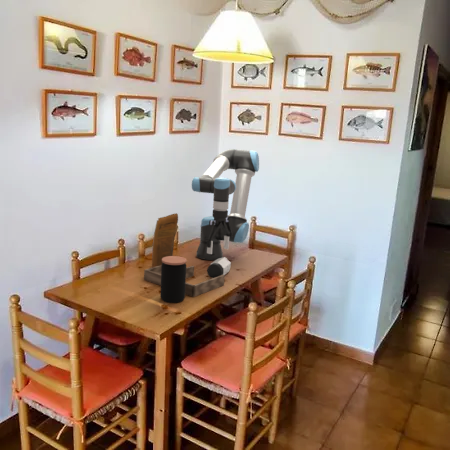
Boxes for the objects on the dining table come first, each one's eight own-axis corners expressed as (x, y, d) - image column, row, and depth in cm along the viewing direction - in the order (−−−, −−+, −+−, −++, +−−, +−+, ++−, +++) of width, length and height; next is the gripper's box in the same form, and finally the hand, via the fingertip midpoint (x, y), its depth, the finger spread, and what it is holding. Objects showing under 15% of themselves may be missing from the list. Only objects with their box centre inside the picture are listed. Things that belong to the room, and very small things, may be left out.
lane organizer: (175, 270, 242) (176, 260, 241) (224, 285, 224) (224, 275, 223) (143, 279, 224) (144, 269, 223) (193, 297, 206) (194, 286, 205)
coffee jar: (189, 299, 203) (191, 260, 199) (171, 305, 195) (173, 264, 191) (173, 292, 210) (175, 254, 206) (155, 298, 202) (156, 258, 198)
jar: (229, 274, 243) (220, 282, 232) (215, 270, 245) (206, 277, 235) (232, 258, 240) (222, 266, 229) (217, 254, 243) (208, 261, 232)
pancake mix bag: (180, 263, 253) (182, 213, 247) (155, 271, 238) (157, 218, 232) (171, 261, 257) (173, 211, 251) (146, 268, 242) (147, 215, 236)
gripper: (229, 205, 240) (226, 245, 245) (198, 211, 220) (196, 254, 225) (241, 207, 236) (238, 248, 240) (210, 213, 216) (208, 257, 221)
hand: (217, 251), depth 233 cm, fingers open, 13 cm apart
